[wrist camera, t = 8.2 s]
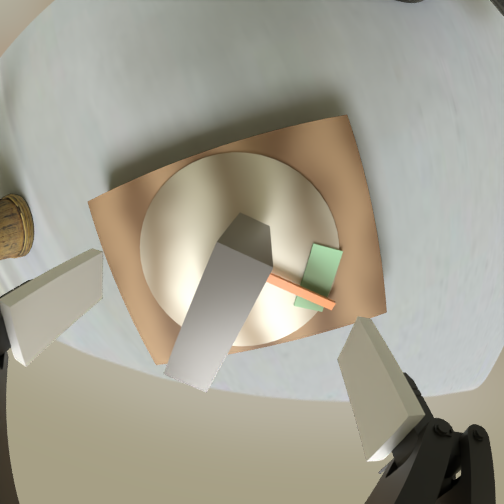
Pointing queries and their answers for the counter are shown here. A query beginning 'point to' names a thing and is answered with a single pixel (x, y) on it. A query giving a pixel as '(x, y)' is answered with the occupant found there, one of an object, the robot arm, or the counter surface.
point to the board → (257, 207)
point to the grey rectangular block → (227, 301)
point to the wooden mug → (15, 227)
